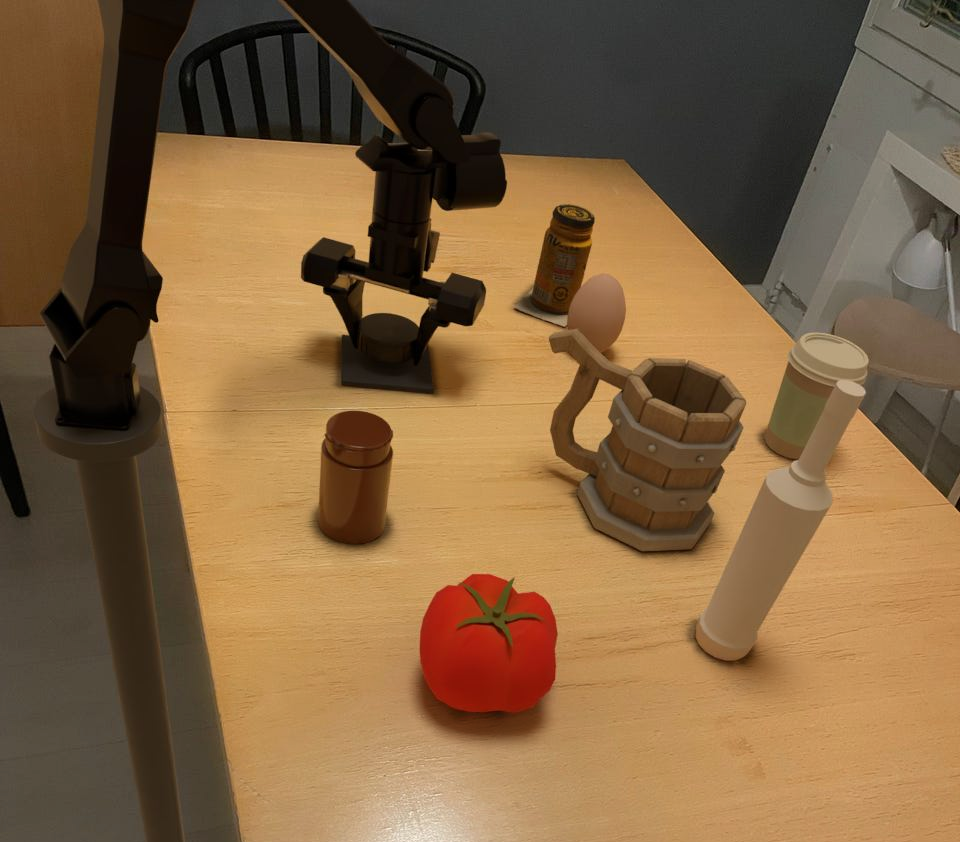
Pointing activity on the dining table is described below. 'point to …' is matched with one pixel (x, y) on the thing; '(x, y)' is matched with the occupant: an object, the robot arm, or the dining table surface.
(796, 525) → the bottle
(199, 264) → the dining table surface
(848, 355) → the coffee cup
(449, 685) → the tomato
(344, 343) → the rubber mat
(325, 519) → the jam jar
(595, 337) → the egg
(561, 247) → the condiment
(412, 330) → the jar lid
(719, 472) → the tankard
